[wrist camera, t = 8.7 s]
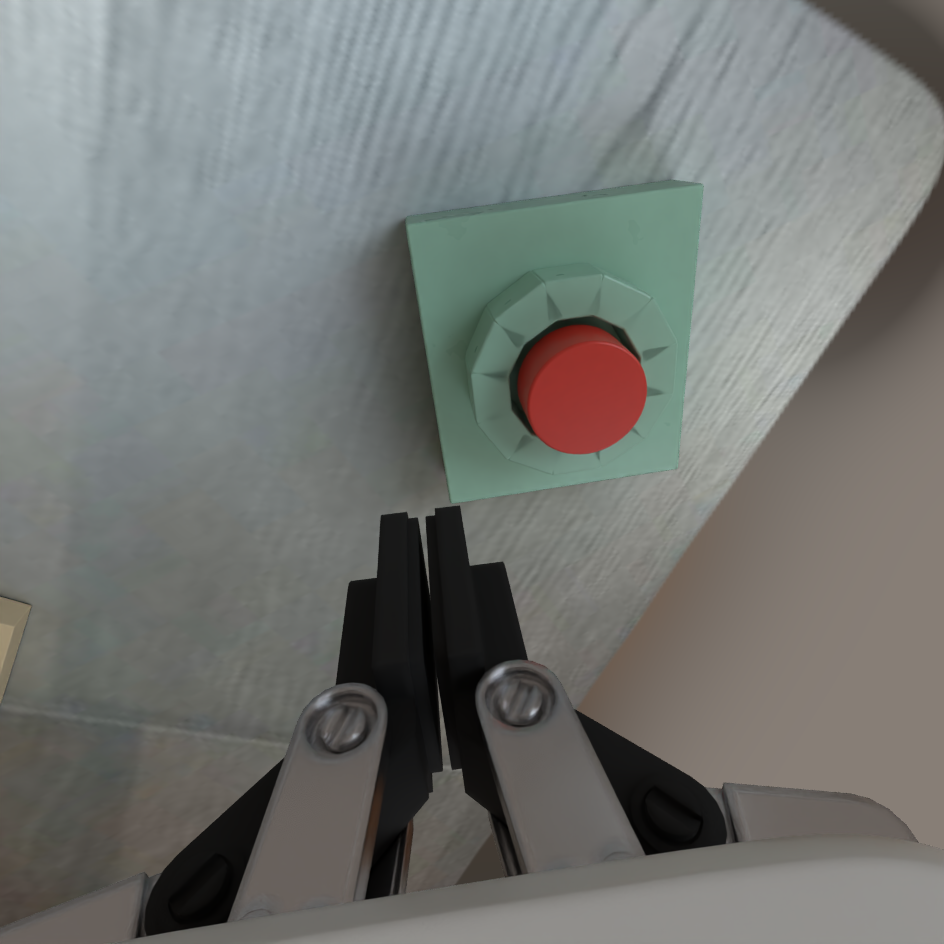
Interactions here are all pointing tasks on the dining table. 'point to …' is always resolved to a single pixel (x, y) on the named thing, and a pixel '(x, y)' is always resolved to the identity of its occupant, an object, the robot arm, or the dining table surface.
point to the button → (581, 389)
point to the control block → (553, 323)
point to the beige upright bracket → (10, 636)
